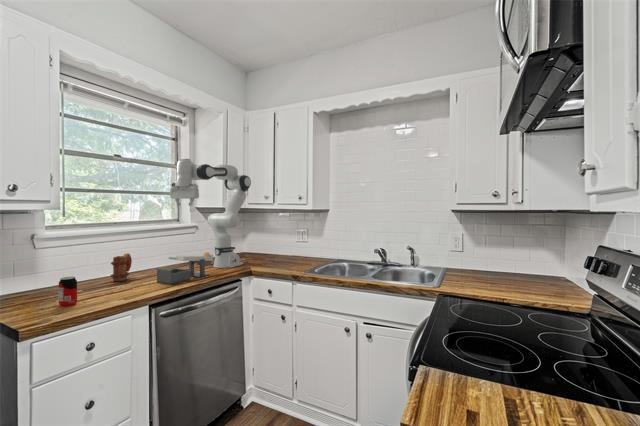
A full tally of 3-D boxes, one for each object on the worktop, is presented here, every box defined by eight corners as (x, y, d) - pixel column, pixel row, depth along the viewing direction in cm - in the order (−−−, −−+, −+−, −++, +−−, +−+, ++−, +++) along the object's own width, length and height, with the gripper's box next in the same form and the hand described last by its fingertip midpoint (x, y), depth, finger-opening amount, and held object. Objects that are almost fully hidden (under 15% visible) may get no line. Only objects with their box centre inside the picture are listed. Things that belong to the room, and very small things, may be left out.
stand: (194, 273, 203) (194, 256, 203) (209, 276, 196) (209, 258, 196) (184, 276, 196) (183, 258, 196) (199, 278, 189) (198, 260, 189)
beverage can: (76, 305, 138) (76, 278, 138) (58, 308, 134) (57, 280, 134) (77, 301, 143) (77, 275, 143) (59, 304, 139) (59, 277, 139)
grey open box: (176, 278, 191) (176, 265, 191) (190, 280, 184) (190, 266, 184) (156, 282, 180) (156, 268, 180) (170, 285, 174) (170, 270, 173)
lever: (197, 263, 210) (198, 253, 211) (213, 265, 202) (214, 255, 203) (167, 263, 191) (168, 253, 192) (183, 266, 183) (184, 254, 184)
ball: (206, 258, 205) (207, 252, 205) (210, 258, 203) (211, 252, 203) (201, 258, 202) (202, 252, 202) (205, 259, 200) (206, 252, 200)
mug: (121, 282, 180) (121, 256, 180) (107, 282, 180) (107, 256, 180) (137, 276, 194) (136, 252, 194) (124, 276, 195) (123, 252, 194)
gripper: (201, 184, 200) (201, 205, 200) (175, 184, 206) (175, 205, 206) (194, 183, 194) (194, 205, 194) (168, 184, 200) (168, 205, 200)
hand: (184, 205), depth 200 cm, fingers open, 8 cm apart
